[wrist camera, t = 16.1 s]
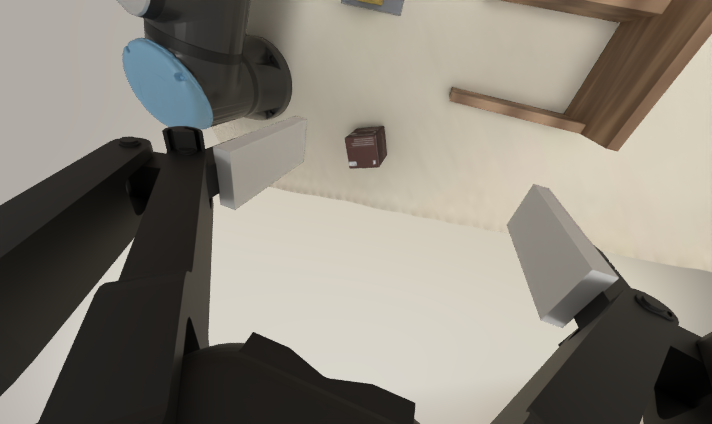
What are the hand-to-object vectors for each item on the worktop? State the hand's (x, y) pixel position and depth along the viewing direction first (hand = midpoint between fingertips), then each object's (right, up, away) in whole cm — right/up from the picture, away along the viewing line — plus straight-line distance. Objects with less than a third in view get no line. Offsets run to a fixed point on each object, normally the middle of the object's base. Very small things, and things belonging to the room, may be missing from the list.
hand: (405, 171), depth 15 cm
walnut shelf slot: (+23, +21, +24) cm, 39 cm away
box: (0, +12, +38) cm, 40 cm away
